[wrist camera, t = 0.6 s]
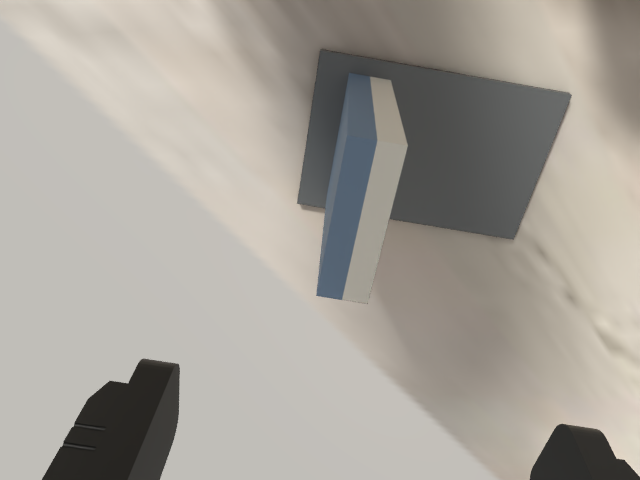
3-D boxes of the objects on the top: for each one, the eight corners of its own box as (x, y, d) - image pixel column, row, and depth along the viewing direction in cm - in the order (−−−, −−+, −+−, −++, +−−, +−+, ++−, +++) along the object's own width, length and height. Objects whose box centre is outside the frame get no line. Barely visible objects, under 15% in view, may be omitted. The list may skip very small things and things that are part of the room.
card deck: (349, 72, 25) (346, 135, 17) (390, 79, 25) (408, 145, 17) (326, 195, 28) (316, 295, 20) (363, 201, 28) (367, 303, 20)
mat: (320, 49, 24) (320, 50, 24) (568, 92, 25) (571, 95, 24) (297, 200, 28) (297, 203, 28) (511, 235, 29) (513, 239, 29)
